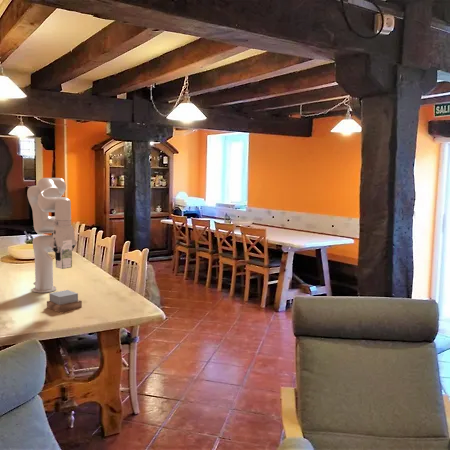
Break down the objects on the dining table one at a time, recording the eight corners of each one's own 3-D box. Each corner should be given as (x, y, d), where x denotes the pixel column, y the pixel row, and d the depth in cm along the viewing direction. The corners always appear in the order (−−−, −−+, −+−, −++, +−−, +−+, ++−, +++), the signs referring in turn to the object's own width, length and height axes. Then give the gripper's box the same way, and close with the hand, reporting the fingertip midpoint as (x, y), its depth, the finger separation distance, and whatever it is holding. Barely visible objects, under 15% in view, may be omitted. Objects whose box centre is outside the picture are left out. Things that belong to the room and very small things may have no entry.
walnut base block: (46, 309, 236) (46, 301, 235) (67, 304, 245) (67, 296, 245) (61, 313, 229) (60, 305, 228) (81, 308, 238) (81, 300, 238)
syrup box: (65, 266, 238) (65, 237, 237) (72, 267, 235) (72, 239, 233) (55, 267, 234) (55, 238, 232) (62, 269, 230) (61, 240, 228)
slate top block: (49, 301, 236) (49, 293, 236) (67, 297, 244) (67, 289, 243) (59, 305, 229) (59, 297, 229) (78, 301, 237) (77, 293, 236)
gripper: (52, 225, 223) (52, 262, 225) (82, 222, 236) (82, 258, 238) (43, 224, 227) (43, 260, 229) (73, 221, 241) (73, 256, 243)
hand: (63, 259), depth 234 cm, fingers closed on syrup box, 5 cm apart
